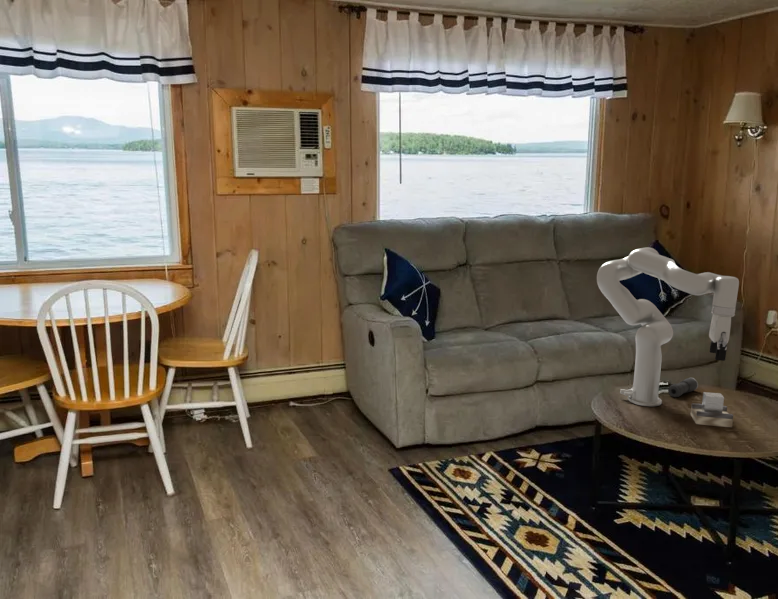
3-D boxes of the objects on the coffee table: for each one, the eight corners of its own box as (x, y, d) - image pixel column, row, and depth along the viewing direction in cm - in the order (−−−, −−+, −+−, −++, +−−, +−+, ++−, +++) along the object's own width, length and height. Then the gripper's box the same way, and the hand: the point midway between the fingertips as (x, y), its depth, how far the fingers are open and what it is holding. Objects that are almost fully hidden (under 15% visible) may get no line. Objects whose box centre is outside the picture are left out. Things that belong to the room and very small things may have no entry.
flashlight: (678, 399, 272) (680, 386, 271) (666, 396, 276) (667, 383, 275) (697, 391, 281) (698, 379, 280) (684, 388, 286) (685, 376, 284)
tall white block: (704, 414, 247) (706, 396, 245) (701, 410, 251) (703, 392, 250) (722, 415, 245) (724, 397, 244) (719, 411, 250) (721, 393, 248)
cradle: (696, 424, 245) (697, 412, 244) (690, 414, 255) (691, 403, 254) (732, 427, 243) (733, 415, 242) (724, 417, 252) (726, 405, 252)
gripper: (707, 304, 251) (701, 349, 255) (717, 314, 235) (710, 362, 239) (729, 306, 250) (722, 351, 253) (740, 316, 233) (733, 364, 237)
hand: (717, 356), depth 246 cm, fingers open, 9 cm apart
